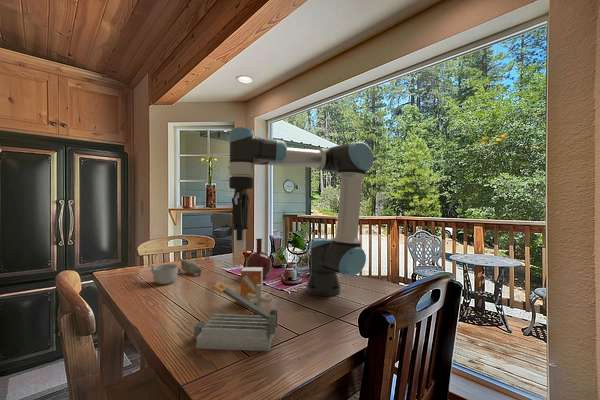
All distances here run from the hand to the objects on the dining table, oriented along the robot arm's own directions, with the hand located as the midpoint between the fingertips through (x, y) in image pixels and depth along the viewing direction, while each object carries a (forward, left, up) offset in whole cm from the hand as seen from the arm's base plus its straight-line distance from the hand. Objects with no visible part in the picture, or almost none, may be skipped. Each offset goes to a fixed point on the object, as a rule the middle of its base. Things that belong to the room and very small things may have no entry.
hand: (240, 249), depth 93 cm
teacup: (+49, -44, -25) cm, 70 cm away
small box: (+1, -22, -25) cm, 33 cm away
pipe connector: (-4, -11, -25) cm, 27 cm away
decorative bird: (+43, -61, -25) cm, 78 cm away
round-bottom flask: (+5, -57, -25) cm, 62 cm away
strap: (-4, +9, -14) cm, 17 cm away
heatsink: (-2, +9, -24) cm, 26 cm away
